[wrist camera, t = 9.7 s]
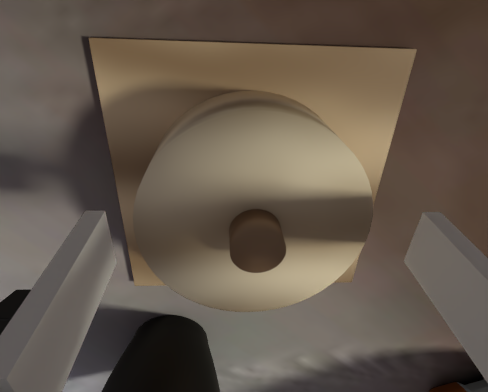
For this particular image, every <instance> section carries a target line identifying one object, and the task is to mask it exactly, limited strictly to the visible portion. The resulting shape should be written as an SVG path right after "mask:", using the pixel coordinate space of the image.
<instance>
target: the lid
mask: <svg viewBox="0 0 488 392" xmlns="http://www.w3.org/2000/svg"><path fill="white" fill-rule="evenodd" d="M372 216H373V199H372V191H371V187H370V183H369V180H368V177H367V175H366V173H365V171H364V168H363V166H362V165H361V163H360V162H359V160H358V159H357V157H356V156H355V154H354V153H353V152H352V151H351V150H350V149H349V148H348V147H347V146H346V145H345V144H344V143H343V141H342V140H341V139H340V138H339V137H338V136H337V135H336V134H335V133H334V132H333V131H332V130H331V129H330V128H329V127H328V125H327V124H326V123H325V122H324V121H323V120H322V119H321V118H320V117H319V116H318V115H317V114H316V113H314V112H313V111H312V110H311V109H309V108H308V107H306V106H305V105H303V104H301V103H299V102H298V101H296V100H293V99H291V98H288V97H286V96H283V95H280V94H275V93H271V92H265V91H255V90H253V91H237V92H231V93H225V94H222V95H219V96H216V97H212V98H210V99H208V100H206V101H203V102H201V103H199V104H197V105H196V106H194V107H193V108H191V109H190V110H188V111H187V112H185V113H184V114H183V115H182V116H181V117H180V118H178V119H177V120H176V121H175V122H174V123H173V125H172V126H171V127H170V128H169V129H168V130H167V132H166V133H165V135H164V137H163V138H162V140H161V141H160V143H159V145H158V147H157V149H156V151H155V154H154V156H153V158H152V160H151V162H150V164H149V166H148V168H147V170H146V172H145V174H144V177H143V179H142V181H141V183H140V186H139V188H138V190H137V194H136V198H135V202H134V210H133V226H134V234H135V238H136V242H137V245H138V247H139V250H140V252H141V255H142V257H143V258H144V260H145V261H146V263H147V265H148V266H149V268H150V269H151V270H152V271H153V273H154V274H155V275H156V276H157V277H158V278H159V279H160V280H161V281H162V282H163V283H164V284H165V285H167V286H168V287H169V288H171V289H172V290H173V291H175V292H176V293H178V294H180V295H182V296H183V297H185V298H187V299H189V300H191V301H194V302H196V303H198V304H201V305H205V306H208V307H211V308H216V309H220V310H226V311H235V312H256V311H266V310H272V309H277V308H281V307H285V306H289V305H292V304H295V303H298V302H300V301H303V300H305V299H307V298H309V297H311V296H313V295H315V294H317V293H318V292H320V291H322V290H324V289H325V288H326V287H328V286H329V285H330V284H332V283H333V282H334V281H336V280H337V279H338V278H339V277H340V276H341V275H342V274H343V273H344V272H345V271H346V270H347V269H348V268H349V267H350V266H351V265H352V263H353V262H354V260H355V259H356V258H357V256H358V255H359V253H360V251H361V250H362V248H363V246H364V244H365V242H366V239H367V236H368V234H369V231H370V227H371V222H372Z"/></svg>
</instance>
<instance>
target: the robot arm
mask: <svg viewBox="0 0 488 392" xmlns="http://www.w3.org/2000/svg"><path fill="white" fill-rule="evenodd" d="M404 262H405V264H406V265H407V267H408V268H409V269H410V271H411V272H412V274H413V275H414V277H415V278H416V280H417V281H418V283H419V284H420V285H421V287H422V288H423V290H424V291H425V293H426V294H427V296H428V297H429V299H430V300H431V301H432V303H433V304H434V306H435V307H436V309H437V310H438V312H439V313H440V314H441V316H442V317H443V319H444V320H445V322H446V323H447V325H448V326H449V328H450V329H451V330H452V332H453V333H454V335H455V336H456V338H457V339H458V341H459V342H460V344H461V345H462V346H463V348H464V349H465V351H466V352H467V354H468V355H469V357H470V358H471V360H472V361H473V362H474V364H475V365H476V367H477V368H478V370H479V371H480V373H481V374H482V376H483V377H484V378H485V380H486V381H487V383H488V258H487V257H486V256H485V255H484V254H483V253H482V252H481V251H480V250H479V249H478V248H477V247H476V246H475V245H474V244H473V243H472V242H471V241H469V240H468V239H467V238H466V237H465V236H464V235H463V234H462V233H461V232H460V231H459V230H458V229H457V228H456V227H455V226H454V225H453V224H452V223H451V222H450V221H449V220H448V219H447V218H446V217H445V216H444V215H443V214H442V213H441V212H423V213H422V216H421V219H420V221H419V224H418V226H417V229H416V231H415V234H414V236H413V239H412V241H411V244H410V246H409V249H408V251H407V254H406V257H405V259H404ZM116 263H117V261H116V256H115V252H114V247H113V243H112V239H111V234H110V230H109V225H108V221H107V217H106V212H105V211H85V212H84V213H83V215H82V216H81V218H80V219H79V221H78V222H77V224H76V225H75V227H74V228H73V230H72V231H71V232H70V234H69V235H68V237H67V238H66V240H65V241H64V243H63V244H62V246H61V247H60V249H59V250H58V251H57V253H56V254H55V256H54V257H53V259H52V260H51V262H50V263H49V265H48V266H47V268H46V269H45V270H44V272H43V273H42V275H41V276H40V278H39V279H38V281H37V282H36V284H35V285H34V287H33V288H32V290H16V291H14V292H13V293H12V294H10V295H9V296H8V297H7V298H5V299H4V300H3V301H2V302H0V392H62V391H63V388H64V386H65V384H66V381H67V379H68V377H69V374H70V372H71V369H72V367H73V365H74V362H75V360H76V358H77V355H78V353H79V351H80V348H81V346H82V344H83V341H84V339H85V336H86V334H87V332H88V329H89V327H90V325H91V322H92V320H93V318H94V315H95V313H96V311H97V308H98V306H99V303H100V301H101V299H102V296H103V294H104V292H105V289H106V287H107V285H108V282H109V280H110V278H111V275H112V273H113V271H114V268H115V266H116Z"/></svg>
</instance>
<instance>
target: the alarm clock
mask: <svg viewBox="0 0 488 392" xmlns="http://www.w3.org/2000/svg"><path fill="white" fill-rule="evenodd" d="M429 392H488V383H487V381H486V380H485V378H484V380H481V381H477V382H474V383H470V384H466V385H463V384H461V383H458V382H453V383H449V384H446V385H442V386H438V387H435V388H433V389H431V390H430V391H429Z"/></svg>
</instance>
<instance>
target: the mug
mask: <svg viewBox="0 0 488 392" xmlns="http://www.w3.org/2000/svg"><path fill="white" fill-rule="evenodd" d="M102 392H220V389H219V384H218V379H217V375H216V371H215V367H214V363H213V359H212V356H211V352H210V349H209V345H208V340H207V336H206V333H205V331H204V330H203V328H202V327H201V326H200V325H199V324H198V323H196V322H194V321H192V320H190V319H187V318H184V317H180V316H160V317H156V318H153V319H150V320H149V321H147V322H145V323H144V324H143V325H141V326H140V327H139V329H138V330H137V332H136V334H135V336H134V338H133V339H132V341H131V342H130V344H129V346H128V347H127V349H126V350H125V352H124V353H123V355H122V356H121V358H120V360H119V361H118V363H117V364H116V366H115V368H114V370H113V371H112V373H111V375H110V377H109V378H108V380H107V382H106V384H105V386H104V388H103V390H102Z"/></svg>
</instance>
